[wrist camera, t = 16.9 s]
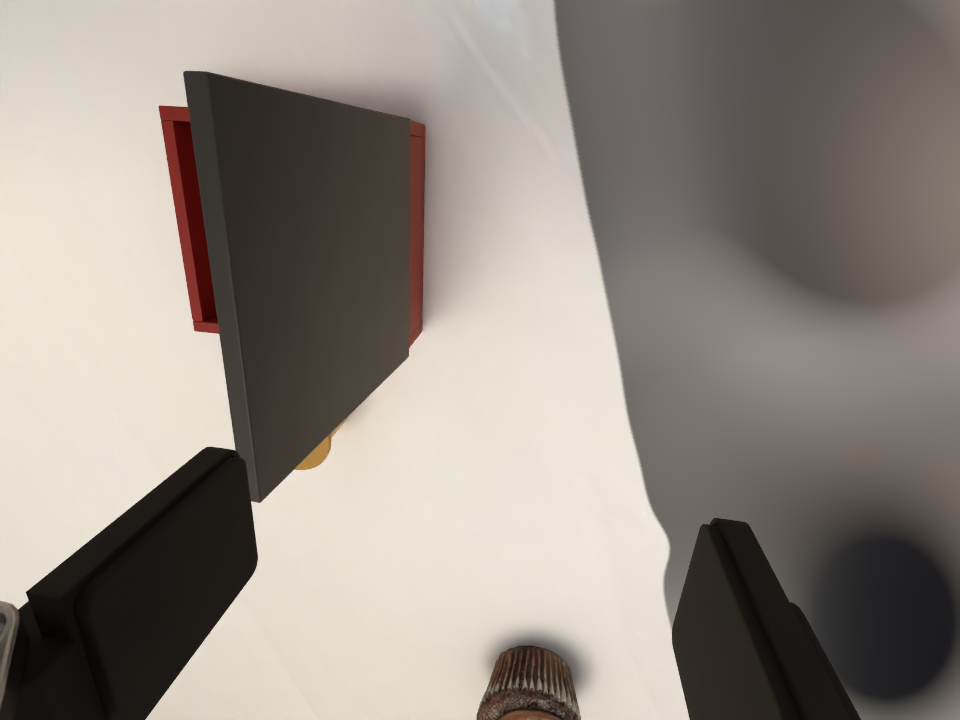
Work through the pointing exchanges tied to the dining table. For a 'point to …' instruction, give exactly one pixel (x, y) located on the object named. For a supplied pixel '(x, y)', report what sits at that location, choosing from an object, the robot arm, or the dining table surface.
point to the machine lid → (300, 259)
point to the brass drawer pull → (318, 453)
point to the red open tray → (194, 229)
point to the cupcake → (529, 688)
